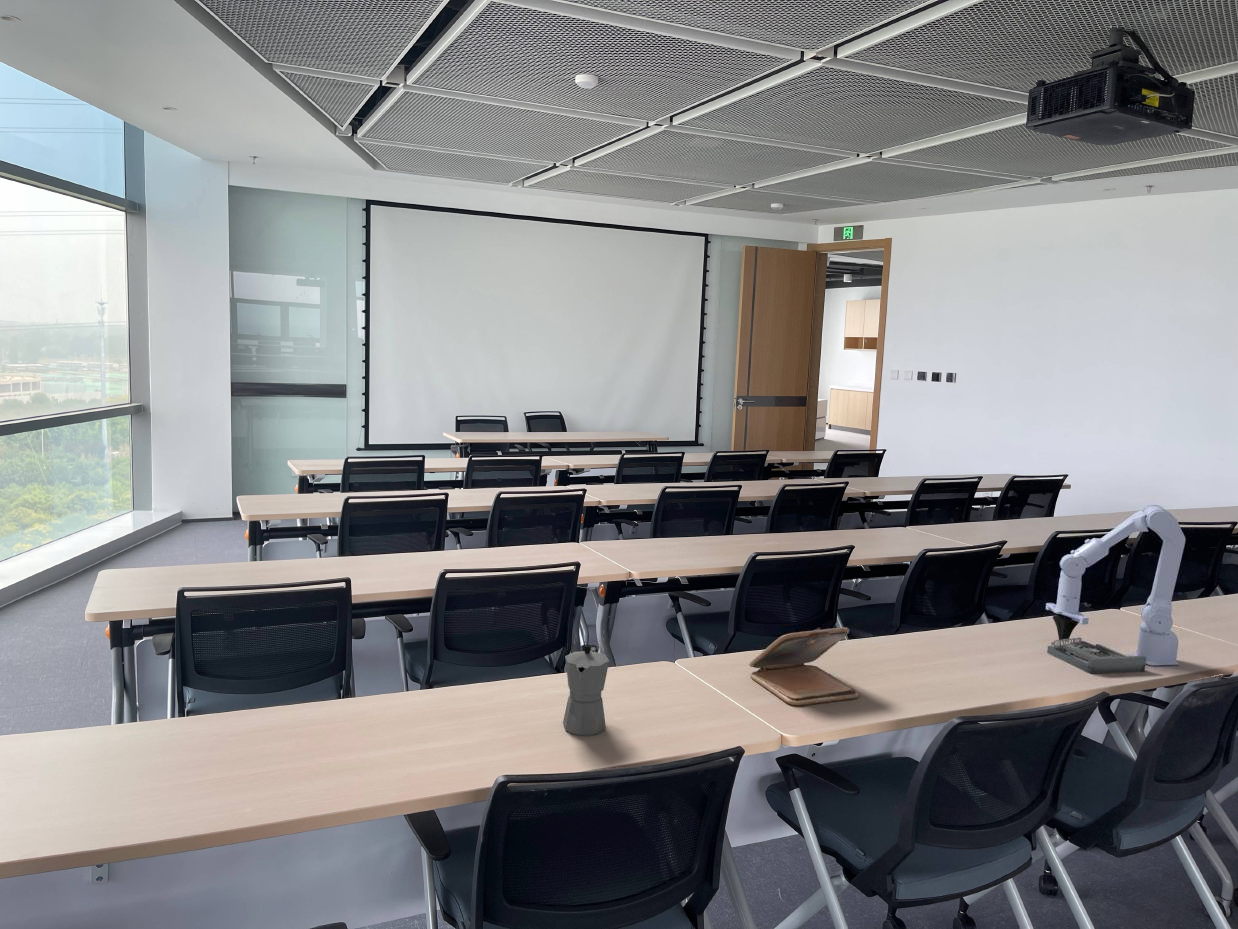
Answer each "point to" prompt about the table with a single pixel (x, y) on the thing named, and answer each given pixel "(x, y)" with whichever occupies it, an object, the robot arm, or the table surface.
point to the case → (801, 668)
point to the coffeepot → (585, 691)
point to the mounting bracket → (1103, 662)
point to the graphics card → (1082, 649)
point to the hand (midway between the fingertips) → (1063, 640)
